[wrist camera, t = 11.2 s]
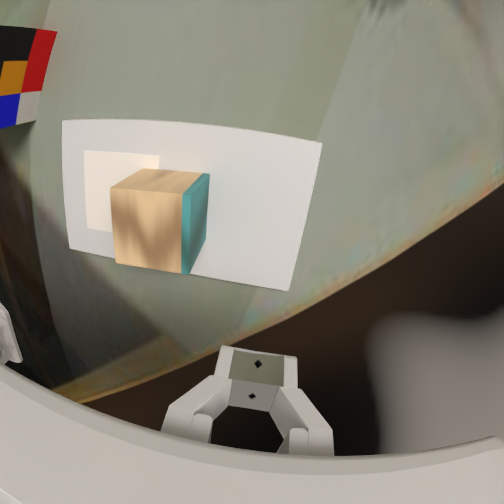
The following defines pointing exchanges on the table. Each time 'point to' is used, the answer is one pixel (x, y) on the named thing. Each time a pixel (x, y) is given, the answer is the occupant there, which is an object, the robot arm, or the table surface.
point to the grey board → (220, 189)
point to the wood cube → (160, 219)
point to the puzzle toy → (22, 72)
